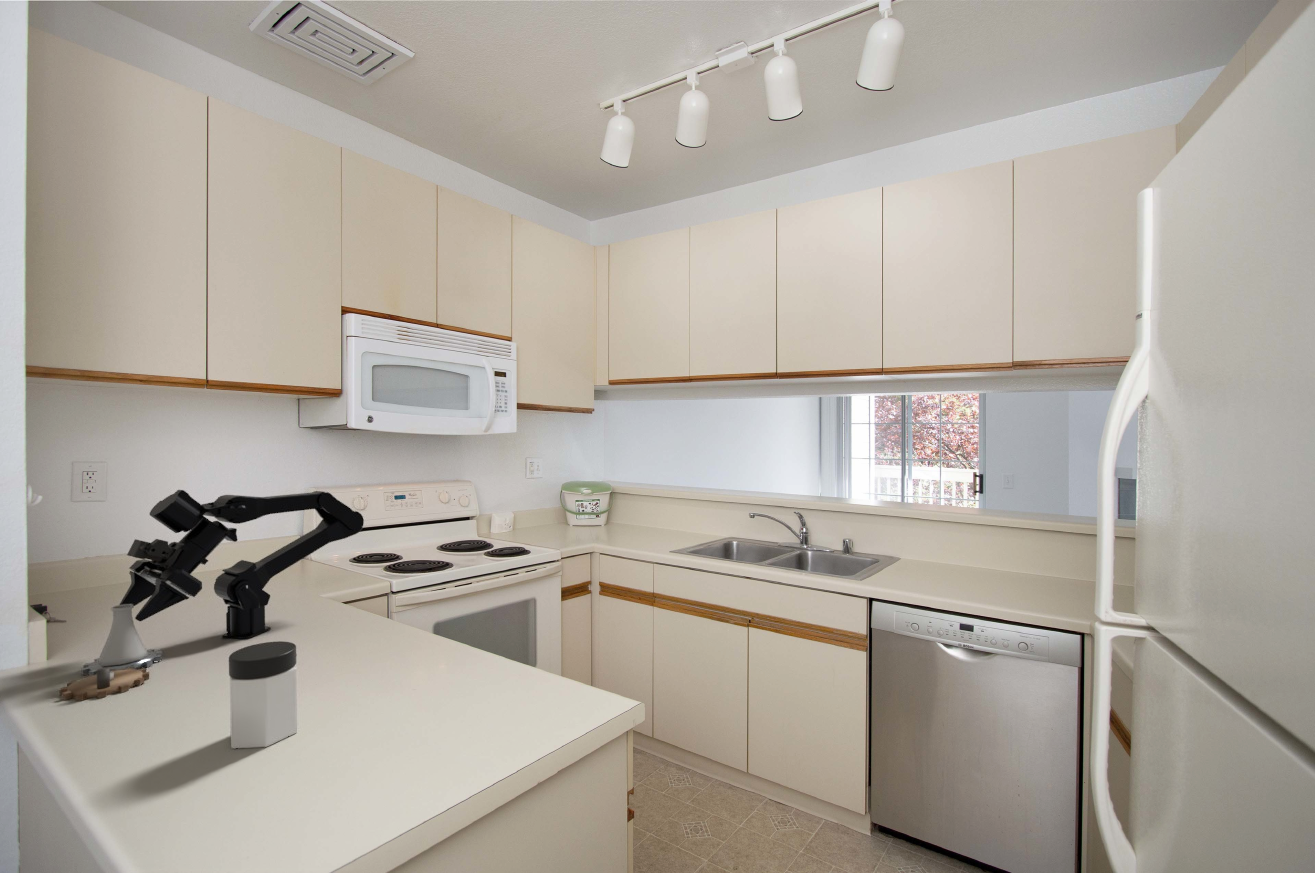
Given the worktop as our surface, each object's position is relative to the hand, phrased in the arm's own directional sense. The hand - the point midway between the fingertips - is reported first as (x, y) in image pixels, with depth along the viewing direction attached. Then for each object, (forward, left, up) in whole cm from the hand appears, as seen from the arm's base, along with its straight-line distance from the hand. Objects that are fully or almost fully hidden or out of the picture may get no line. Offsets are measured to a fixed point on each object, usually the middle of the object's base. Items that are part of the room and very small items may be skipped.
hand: (127, 616), depth 115 cm
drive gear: (-6, +9, -9) cm, 14 cm away
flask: (0, +1, -8) cm, 8 cm away
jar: (-46, +21, -9) cm, 51 cm away
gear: (0, +1, -9) cm, 9 cm away
